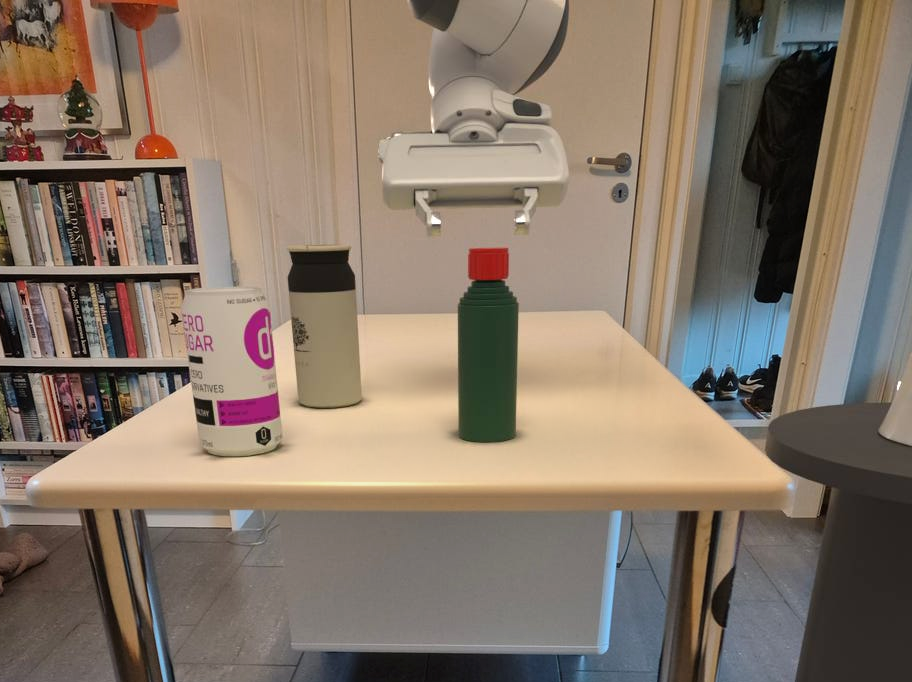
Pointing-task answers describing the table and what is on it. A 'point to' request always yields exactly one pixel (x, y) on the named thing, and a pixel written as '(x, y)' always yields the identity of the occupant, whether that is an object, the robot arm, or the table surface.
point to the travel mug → (324, 325)
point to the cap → (488, 263)
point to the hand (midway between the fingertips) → (478, 231)
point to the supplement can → (232, 369)
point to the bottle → (487, 362)
